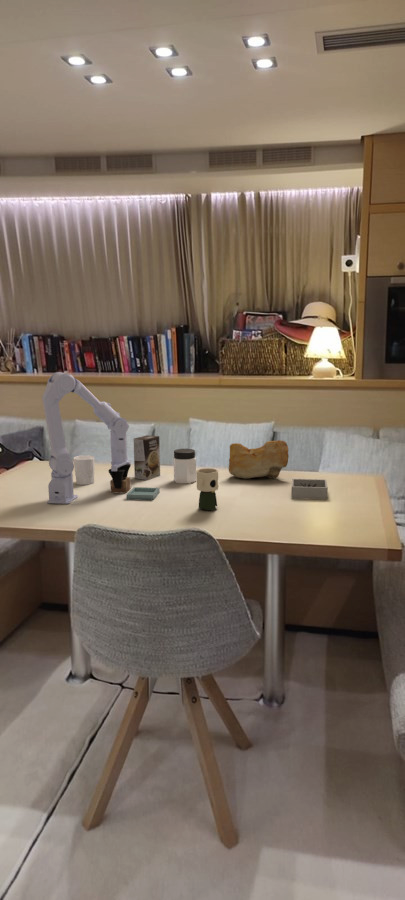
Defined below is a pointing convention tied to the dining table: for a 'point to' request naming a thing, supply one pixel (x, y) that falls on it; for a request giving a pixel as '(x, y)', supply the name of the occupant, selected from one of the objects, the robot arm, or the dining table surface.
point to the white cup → (84, 469)
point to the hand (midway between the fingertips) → (120, 485)
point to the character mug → (207, 487)
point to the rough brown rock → (258, 460)
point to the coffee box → (146, 457)
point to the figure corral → (309, 489)
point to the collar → (124, 487)
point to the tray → (143, 493)
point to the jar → (184, 466)
